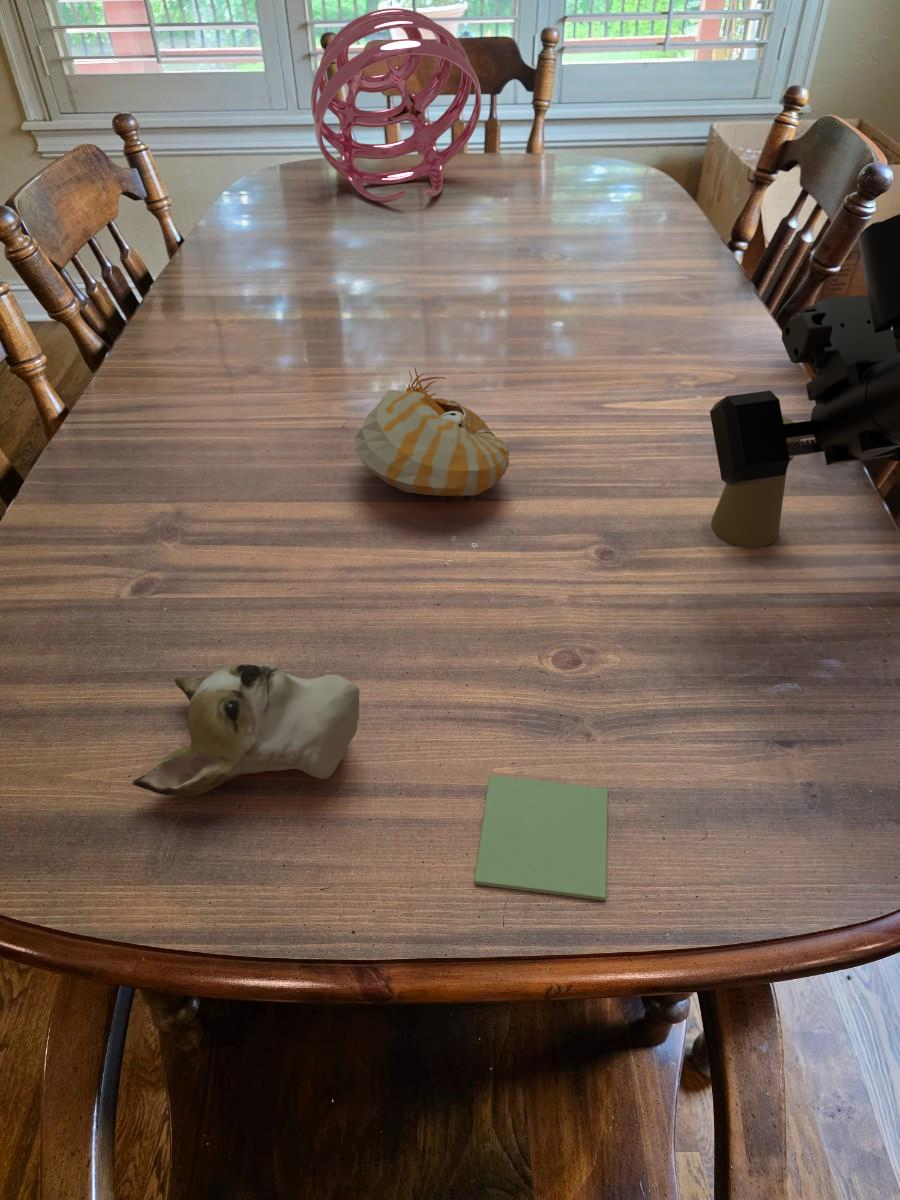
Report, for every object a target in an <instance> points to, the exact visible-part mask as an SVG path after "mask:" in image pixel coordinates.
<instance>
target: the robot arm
mask: <svg viewBox="0 0 900 1200" xmlns="http://www.w3.org/2000/svg"><path fill="white" fill-rule="evenodd" d="M857 241H858V247H859V252H860V258H861V264H862V269H863V275H864V282H865V287H866V293H867V295H866V294H858V295H849V296H842V297H841V296H839V297H832V298H831V297H830V298H824V299H820V300H819V301H817V303H815V304H811V305H804V307H803V309H802V310H801V311H800V312H794V313H793V314H792V315H791V317H790V319H789V320H788V322H787V323H786V324H785V326H784V327H783V330H782V331H781V342H782V344H783V346H784V348H785V351H786V353H787V356H788V359H789V360H790V362H791V363H792V364H807V365H808V366H809V367H810V369H811V371H812V373H813V374H814V375H815V376H816V378H813V379H812V380H810V381H808V382H807V383H805V388H806V393H807V399H808V401H809V402H812V401H814V403H815V405H814V406H813V407H812V410H811V414H810V420H804V421H796V422H794V423H788V424H783V419H782V416H783V414H782V408H781V401H780V398H779V397H777V396H776V395H775V393H774V392H772V390H764V391H755V392H749V393H748V392H747V393H740V394H733V395H726V396H724V397H723V398H721V399H720V400H718V401H717V402H715V404H714V405H713V406H712V408H711V409H710V410H709V415H710V416H709V417H710V421H711V427H712V433H713V439H714V445H715V449H716V450H715V451H716V456H717V462H718V467H719V471H720V472H719V473H720V478H721V481H722V482H724V484H725V485H726V484H728V485H729V486H736V485H743V484H750V483H757V482H763V481H768V480H773V479H776V478H780V477H782V476H785V475H786V476H787V472H788V467H789V464H790V462H791V461H790V458H789V457H794V458H795V457H800V456H807V455H808V456H809V455H817V454H822V453H823V454H824V458H825V465H826V466H833V465H834V466H835V465H841V464H848V463H854V462H862V461H867V460H874V459H877V460H878V459H879V460H885V461H889V462H895V463H896V462H897V463H900V351H897V350H898V349H897V347H896V343H897V340H900V213H899V214H895V215H893V216H891V217H888V218H886V219H884V220H881V221H875V222H872V223H871V224H870V225H868V226H867V227H865V228H864V229H863V230H862V231H861V232H860V233H859V235H858V237H857ZM812 438H814V439H812ZM799 439H801V442H800V443H799V442H795V444H794V443H793V442H791V443H790V445H789V443H787V441H791V440H799ZM806 439H807V440H806ZM809 439H810V440H809ZM789 461H790V462H789ZM786 471H787V472H786Z"/></svg>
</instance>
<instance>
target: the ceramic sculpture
mask: <svg viewBox="0 0 900 1200" xmlns="http://www.w3.org/2000/svg"><path fill="white" fill-rule="evenodd" d="M174 684H175V685H176V686H177V687H178V688H179V689H180V690H181V691H182V693H184V695H185V696H186V698H187V699H188V701H189V705H188V709H187V727H188V732H189V736H190V740H191V743H190V744H189V745H185V746H183V747H182V748H180V749H177V750H175V751H173V752H171V753H170V754H168V755H167V756H166V757H164V758H163V760H162V762H160V763H159V764H157V766H156V767H154V768H153V769H152V770H150V771H149V772H148V773H146V774H143V775H142V776H140V777H138V778H136V779H134V780H132V781H131V785H132V786H135V787H139V788H141V789H144V790H147V791H151V792H152V793H155V794H159V795H165V796H177V797H189V796H190V797H191V796H197V795H201V794H203V793H207V792H209V791H211V790H213V789H215V788H217V787H219V786H221V785H222V784H224V783H226V782H228V781H231V780H233V779H235V778H236V777H237V776H239V775H244V774H258V773H264V772H274V771H287V770H298V771H302V772H303V773H305V774H307V775H309V776H311V777H313V778H315V779H316V778H317V779H319V780H325V779H329V778H330V777H331V776H332V775H333V774H334V773H335V771H336V770H337V768H338V766H339V764H340V763H341V761H342V760H343V758H344V757H345V755H346V754H347V751H348V748H349V746H350V743H351V741H353V738H354V737H355V735H356V733H357V731H358V723H359V720H360V688H359V686H358V685H356V684H353V683H352V682H350V680H348V679H346V678H345V677H343V676H341V675H337V674H326V675H323V676H319V677H314V678H306V679H305V678H301V677H299V676H295V675H292V674H291V673H290V674H289V673H286V672H284V671H283V670H280V669H279V668H278V667H277V666H276V665H275V664H271V663H262V664H259V665H258V664H257V665H256V664H255V665H254V664H253V665H252V664H238V665H227V666H222V667H220V668H218V669H216V670H215V671H213V672H212V673H210V674H209V675H208V676H205V677H203V678H190V677H175V678H174Z"/></svg>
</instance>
